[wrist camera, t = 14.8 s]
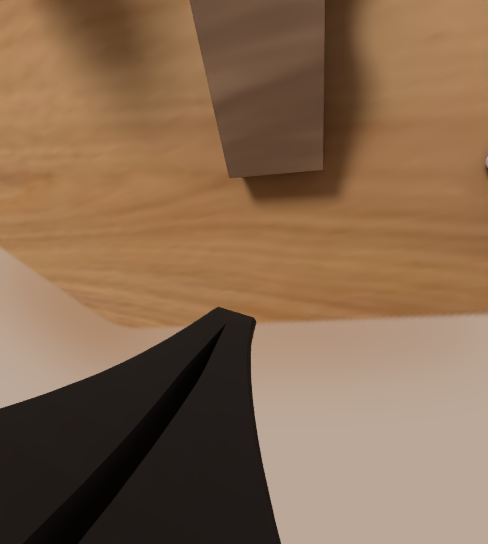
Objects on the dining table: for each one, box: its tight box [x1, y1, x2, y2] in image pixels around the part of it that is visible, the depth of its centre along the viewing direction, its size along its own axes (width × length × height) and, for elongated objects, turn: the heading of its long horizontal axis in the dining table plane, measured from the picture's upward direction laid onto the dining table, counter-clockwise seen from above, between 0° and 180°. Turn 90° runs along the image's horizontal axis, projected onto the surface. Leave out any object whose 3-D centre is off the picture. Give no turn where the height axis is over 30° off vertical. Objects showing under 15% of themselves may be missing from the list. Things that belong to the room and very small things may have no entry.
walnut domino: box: [190, 0, 325, 178], centre depth 12 cm, size 2×5×8 cm
